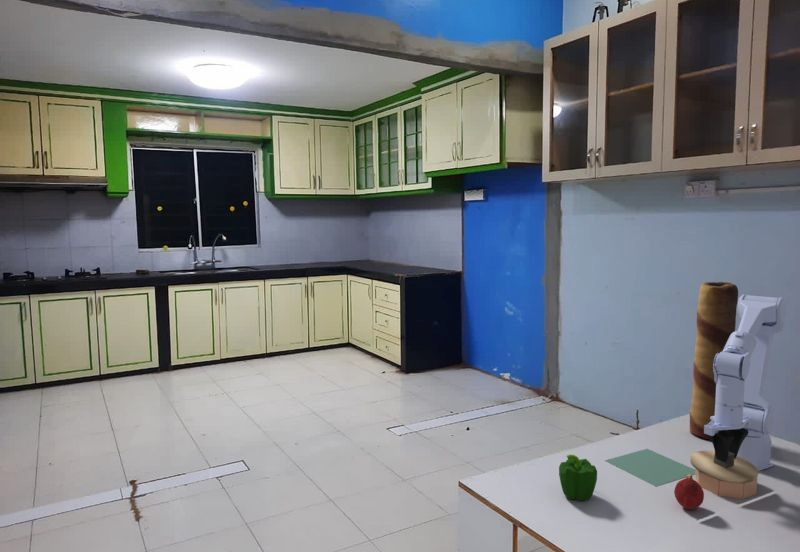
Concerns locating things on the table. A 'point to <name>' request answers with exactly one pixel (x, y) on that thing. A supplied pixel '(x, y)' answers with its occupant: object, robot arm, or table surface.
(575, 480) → the bell pepper
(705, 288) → the wafer roll
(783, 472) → the table surface
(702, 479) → the bowl
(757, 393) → the robot arm
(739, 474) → the lid
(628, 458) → the mat
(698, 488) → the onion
